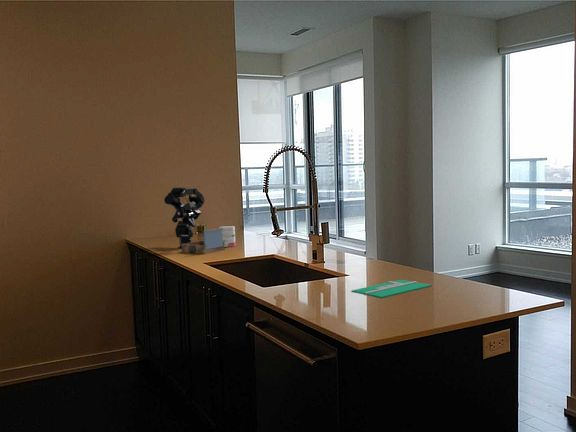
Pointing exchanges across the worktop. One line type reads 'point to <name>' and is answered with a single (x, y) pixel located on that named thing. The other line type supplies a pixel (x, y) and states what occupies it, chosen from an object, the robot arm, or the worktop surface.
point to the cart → (198, 248)
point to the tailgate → (213, 238)
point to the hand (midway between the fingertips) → (194, 226)
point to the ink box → (228, 236)
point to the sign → (391, 288)
